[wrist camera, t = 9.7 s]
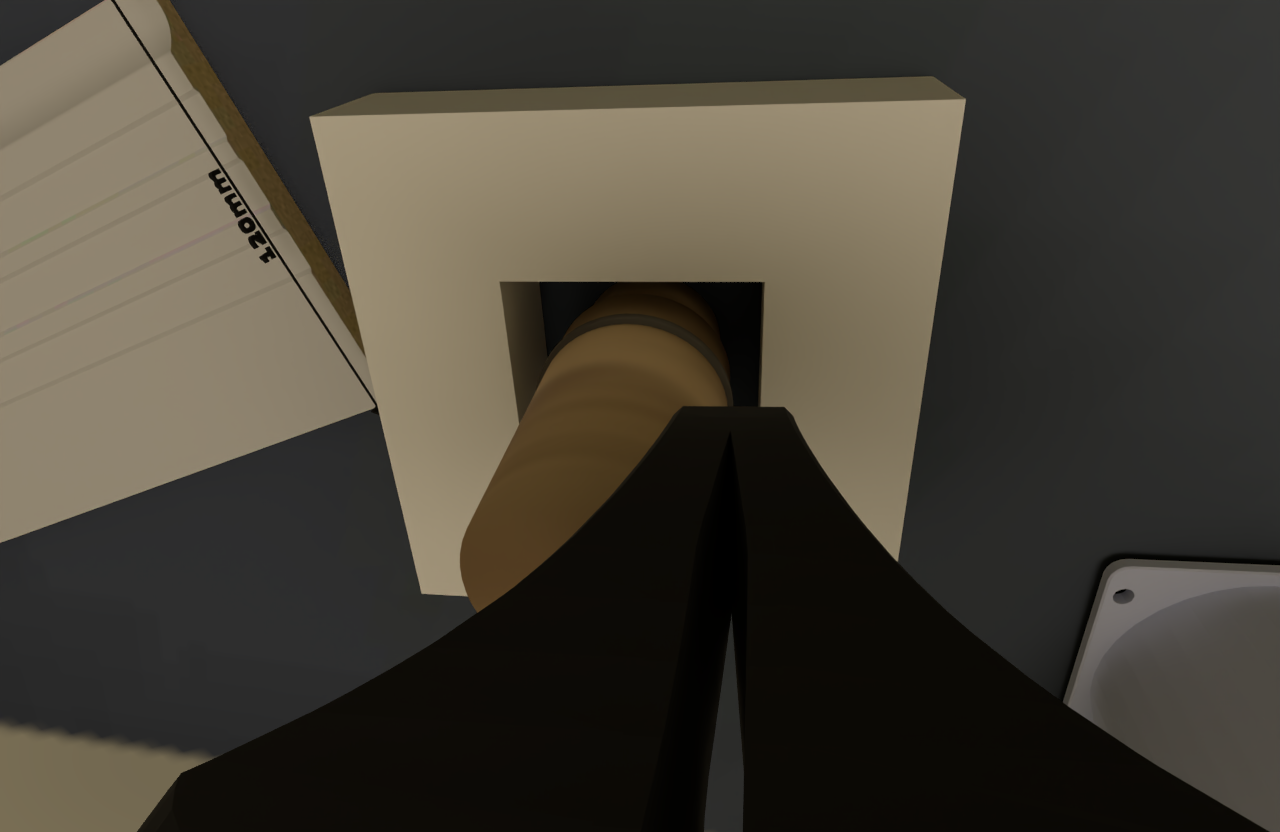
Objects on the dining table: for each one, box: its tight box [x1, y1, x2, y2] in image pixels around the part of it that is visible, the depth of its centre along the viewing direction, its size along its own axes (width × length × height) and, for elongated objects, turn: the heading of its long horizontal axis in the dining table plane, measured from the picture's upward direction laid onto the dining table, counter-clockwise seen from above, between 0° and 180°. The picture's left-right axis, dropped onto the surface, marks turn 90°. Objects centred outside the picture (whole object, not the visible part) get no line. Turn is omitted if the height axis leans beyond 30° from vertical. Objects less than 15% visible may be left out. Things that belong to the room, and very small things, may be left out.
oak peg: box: [460, 282, 733, 613], centre depth 16 cm, size 4×4×9 cm
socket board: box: [310, 76, 966, 596], centre depth 19 cm, size 12×12×3 cm
